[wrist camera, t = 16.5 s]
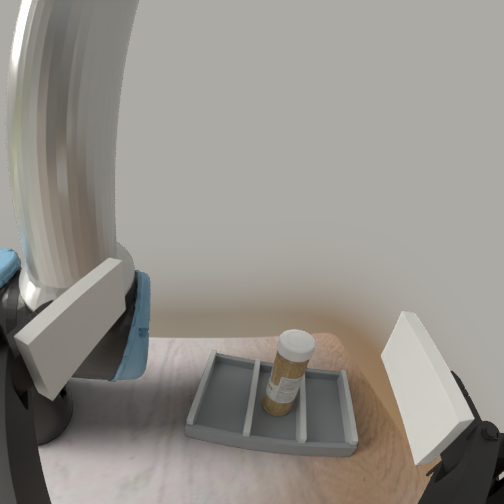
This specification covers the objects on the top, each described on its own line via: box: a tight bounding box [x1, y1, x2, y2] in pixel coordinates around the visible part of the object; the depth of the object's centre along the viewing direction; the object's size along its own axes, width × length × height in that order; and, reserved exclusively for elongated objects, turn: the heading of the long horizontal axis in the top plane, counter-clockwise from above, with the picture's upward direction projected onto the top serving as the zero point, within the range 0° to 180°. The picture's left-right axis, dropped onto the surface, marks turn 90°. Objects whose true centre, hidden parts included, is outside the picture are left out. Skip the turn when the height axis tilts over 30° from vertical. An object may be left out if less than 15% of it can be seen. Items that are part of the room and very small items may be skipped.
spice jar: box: [262, 329, 316, 416], centre depth 36 cm, size 5×5×14 cm
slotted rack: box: [185, 350, 358, 457], centre depth 38 cm, size 23×16×4 cm
